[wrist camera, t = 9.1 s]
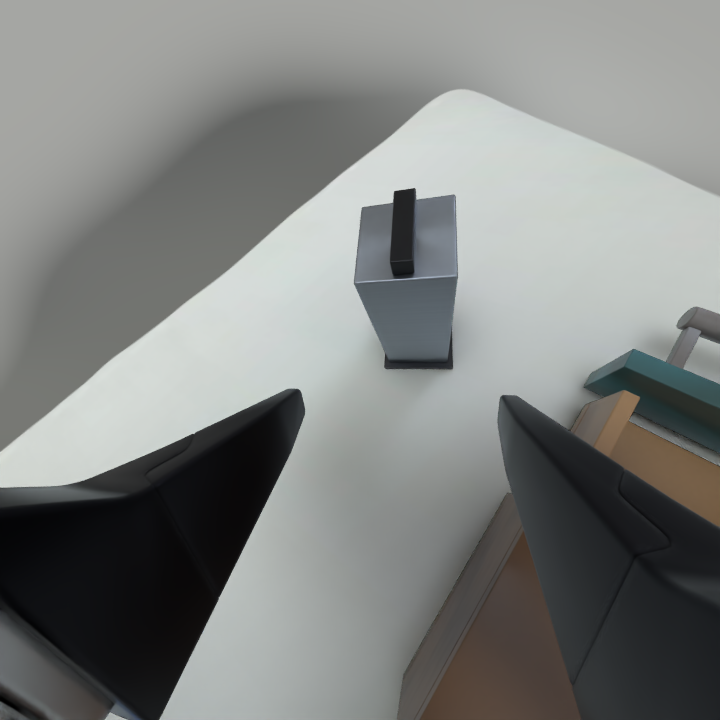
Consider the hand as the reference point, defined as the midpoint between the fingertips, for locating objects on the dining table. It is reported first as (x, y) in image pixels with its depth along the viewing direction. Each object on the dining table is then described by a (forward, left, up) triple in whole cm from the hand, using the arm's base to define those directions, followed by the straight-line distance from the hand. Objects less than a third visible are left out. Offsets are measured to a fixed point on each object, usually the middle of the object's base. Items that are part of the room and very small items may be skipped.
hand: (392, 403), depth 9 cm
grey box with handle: (+4, +7, -14) cm, 16 cm away
